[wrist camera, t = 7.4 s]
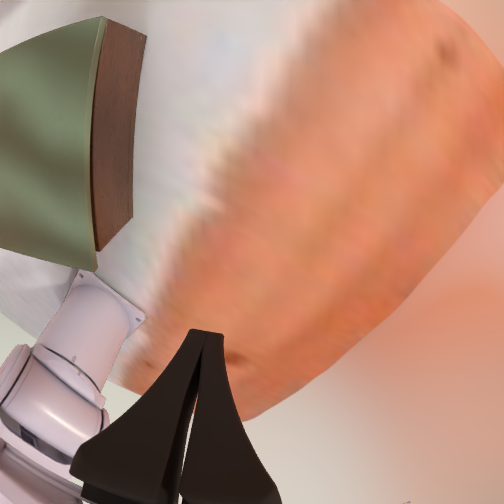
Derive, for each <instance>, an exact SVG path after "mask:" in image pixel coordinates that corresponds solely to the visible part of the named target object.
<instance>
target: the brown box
mask: <svg viewBox="0 0 504 504" xmlns="http://www.w3.org/2000/svg"><path fill="white" fill-rule="evenodd" d="M146 38H147V36H146V35H144V34H142V33H140V32H137V31H135V30H133V29H131V28H129V27H126V26H124V25H122V24H119V23H117V22H115V21H112V20H110V19H107V23H106V27H105V31H104V35H103V40H102V44H101V49H100V54H99V60H98V66H97V72H96V79H95V86H94V94H93V104H92V116H91V131H90V195H91V212H92V224H93V234H94V243H95V251H98V252H100V251H101V250H102V249H103V248H104V247H105V246H106V245H107V244H108V243H109V241H110V240H111V239H112V238H113V237H114V236H115V235H116V234H117V233H118V232H119V231H120V230H121V229H122V228H123V227H124V226H125V225H126V223H127V222H128V221H129V220H130V219H131V218H132V217H133V199H132V176H133V145H134V128H135V116H136V105H137V96H138V88H139V80H140V73H141V66H142V60H143V54H144V49H145V43H146Z"/></svg>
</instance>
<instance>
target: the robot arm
mask: <svg viewBox="0 0 504 504" xmlns="http://www.w3.org/2000/svg"><path fill="white" fill-rule="evenodd" d="M138 318H139V319H138ZM145 318H146V315H145V313H143V312H142V311H141V310H139V309H138V308H137V307H135V306H134V305H132V304H131V303H130V302H128V301H127V300H126V299H124V298H123V297H122V296H121V295H119V294H118V293H117V292H115V291H114V290H113V289H112V288H110V287H109V286H108V285H106V284H105V283H104V282H103V281H102V280H100V279H99V278H98V277H97V276H95V275H94V274H93V273H92V272H89V271H85V270H81V269H79V270H78V272H77V274H76V276H75V279H74V281H73V283H72V285H71V287H70V289H69V291H68V294H67V296H66V298H65V300H64V303H63V304H62V306H61V307H60V308H59V310H58V311H57V312H56V314H55V315H54V317H53V318H52V319H51V321H50V322H49V324H48V325H47V327H46V328H45V330H44V331H43V333H42V334H41V335H40V337H39V339H38V340H37V342H36V343H35V345H34V346H33V347H32V348H30V347H29V346H28V345H27V344H24V345H17V346H16V347H15V348H14V349H13V350H12V352H11V353H10V354H9V356H8V357H7V358H6V360H5V361H4V363H3V364H2V366H1V368H0V504H83V502H82V500H83V501H85V502H87V503H90V504H178V498H179V493H180V495H181V496H182V504H282V501H281V498H280V494H279V492H278V489H277V486H276V485H275V483H274V481H273V480H272V478H271V477H270V476H269V474H268V472H267V471H266V469H265V468H264V466H263V465H262V463H261V461H260V459H259V458H258V456H257V454H256V452H255V450H254V449H253V446H252V444H251V442H250V440H249V438H248V436H247V434H246V432H245V430H244V428H243V425H242V423H241V420H240V417H239V415H238V412H237V409H236V406H235V403H234V400H233V397H232V393H231V389H230V386H229V381H228V376H227V372H226V366H225V359H224V335H223V334H221V333H215V332H209V331H203V330H197V329H190V330H189V332H188V334H187V336H186V338H185V340H184V341H183V343H182V345H181V346H180V348H179V350H178V351H177V353H176V354H175V356H174V357H173V359H172V360H171V361H170V363H169V364H168V366H167V367H166V368H165V370H164V371H163V372H162V374H161V375H160V376H159V377H158V379H157V380H156V381H155V382H154V384H153V385H152V386H151V387H150V388H149V389H148V390H147V391H146V393H145V394H144V395H143V396H142V397H141V398H140V399H139V400H138V401H137V402H136V403H135V404H134V405H133V406H132V407H131V408H129V409H128V410H127V411H126V412H125V413H124V414H123V415H122V416H121V417H119V418H118V419H117V420H116V421H114V422H113V423H112V424H110V422H109V415H108V413H107V411H106V410H105V409H104V408H103V406H104V404H105V401H106V398H105V397H103V396H102V395H101V391H102V389H103V387H104V384H105V382H106V379H107V377H108V375H109V372H110V370H111V368H112V365H113V363H114V361H115V359H116V356H117V354H118V352H119V350H120V348H121V345H122V343H123V342H124V340H125V339H126V338H127V337H128V336H129V335H130V334H131V333H132V332H133V331H134V330H135V329H136V328H137V327H138V326H139V325H140V324H141V323H142V322H143V321H144V320H145ZM197 395H198V399H197V404H196V409H195V414H194V418H193V423H192V428H191V433H190V438H189V442H188V448H187V452H186V457H185V461H184V466H183V458H184V452H185V445H186V438H187V432H188V428H189V423H190V420H191V416H192V413H193V409H194V405H195V402H196V398H197ZM182 466H183V470H182ZM181 473H182V475H181ZM75 478H77V479H79V480H81V481H83V482H84V484H83V487H81V486H79V485H77V484H74V483H73V482H70V481H68V480H66V479H75ZM403 504H411V502H406V503H403Z"/></svg>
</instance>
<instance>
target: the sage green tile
mask: <svg viewBox="0 0 504 504" xmlns="http://www.w3.org/2000/svg"><path fill="white" fill-rule="evenodd" d="M106 23H107V18H105V17H103V16H101V17H96V18H92V19H88V20H84V21H81V22H77V23H74V24H70V25H67V26H64V27H61V28H58V29H55V30H52V31H49V32H47V33H44V34H41V35H39V36H36V37H34V38H31V39H29V40H27V41H24V42H22V43H20V44H18V45H16V46H14V47H11V48H9V49H7V50H5V51H3V52H1V53H0V248H3V249H6V250H10V251H13V252H16V253H20V254H23V255H27V256H31V257H34V258H38V259H42V260H45V261H49V262H53V263H57V264H61V265H65V266H69V267H73V268H77V269H81V270H85V271H89V272H95V270H96V269H97V268H98V265H97V258H96V251H95V243H94V234H93V224H92V212H91V195H90V131H91V116H92V104H93V94H94V86H95V79H96V72H97V66H98V60H99V54H100V49H101V44H102V40H103V35H104V31H105V27H106Z"/></svg>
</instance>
